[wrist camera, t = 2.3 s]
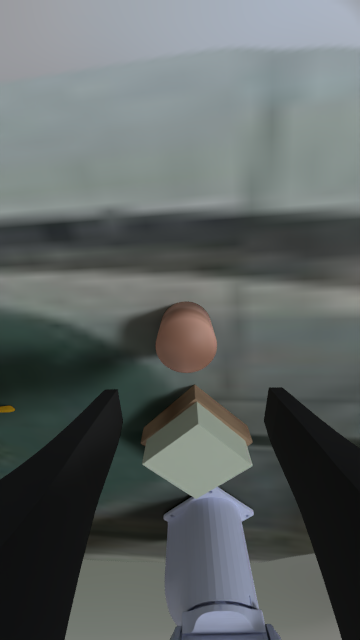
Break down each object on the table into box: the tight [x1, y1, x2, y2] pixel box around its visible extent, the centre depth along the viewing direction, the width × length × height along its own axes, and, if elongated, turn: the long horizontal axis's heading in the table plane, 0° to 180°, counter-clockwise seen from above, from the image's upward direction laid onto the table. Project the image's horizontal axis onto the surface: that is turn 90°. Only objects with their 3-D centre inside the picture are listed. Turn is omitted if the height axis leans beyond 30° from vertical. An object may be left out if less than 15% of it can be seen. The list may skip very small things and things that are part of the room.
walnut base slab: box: [141, 385, 252, 446], centre depth 23 cm, size 8×8×2 cm
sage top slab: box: [142, 402, 253, 499], centre depth 20 cm, size 7×7×2 cm
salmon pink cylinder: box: [156, 302, 217, 373], centre depth 17 cm, size 4×4×4 cm
